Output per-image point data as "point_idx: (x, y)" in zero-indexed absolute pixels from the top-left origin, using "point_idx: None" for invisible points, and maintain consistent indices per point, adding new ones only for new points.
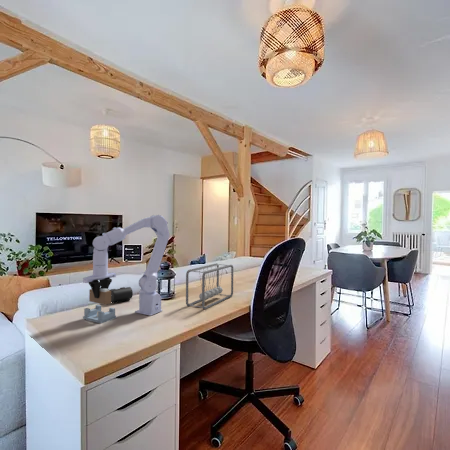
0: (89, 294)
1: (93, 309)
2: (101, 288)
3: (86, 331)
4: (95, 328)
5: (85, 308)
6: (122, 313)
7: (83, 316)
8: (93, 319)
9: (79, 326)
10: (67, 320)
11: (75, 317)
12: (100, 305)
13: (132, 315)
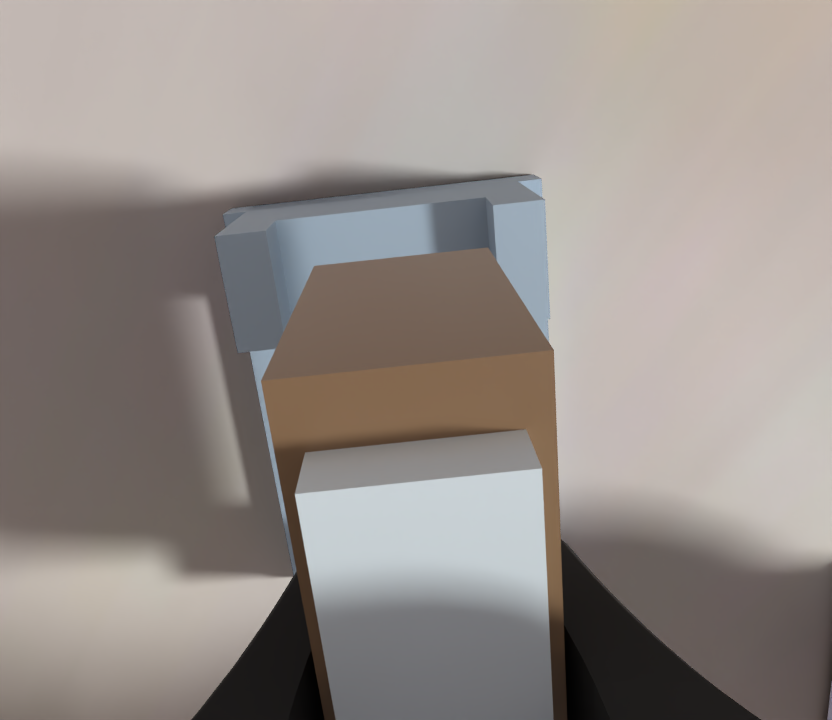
0: (289, 321)
1: (405, 253)
2: (582, 688)
3: (59, 662)
4: (174, 659)
5: (233, 249)
6: (740, 458)
7: (229, 215)
8: (272, 456)
9: (61, 461)
10: (20, 49)
11: (182, 3)
12: (540, 304)
13: (736, 624)
